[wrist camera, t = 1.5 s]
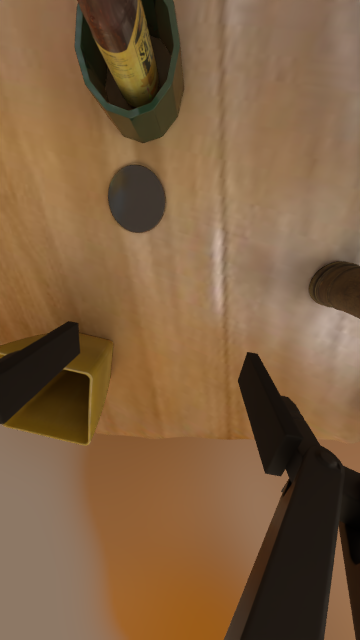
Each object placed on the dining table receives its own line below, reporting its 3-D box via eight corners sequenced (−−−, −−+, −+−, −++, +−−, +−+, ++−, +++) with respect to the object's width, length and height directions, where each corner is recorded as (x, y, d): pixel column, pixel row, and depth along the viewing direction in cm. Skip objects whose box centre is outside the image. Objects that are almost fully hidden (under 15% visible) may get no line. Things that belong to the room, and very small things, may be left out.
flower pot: (53, 314, 47) (-18, 349, 32) (126, 331, 47) (91, 374, 32) (56, 374, 54) (0, 426, 39) (120, 389, 54) (89, 447, 39)
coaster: (135, 150, 33) (134, 148, 32) (177, 202, 35) (177, 202, 35) (98, 200, 37) (96, 199, 36) (138, 244, 39) (138, 244, 38)
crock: (139, -4, 26) (120, -84, 20) (200, 88, 29) (200, 44, 23) (85, 89, 31) (55, 47, 24) (143, 161, 34) (130, 141, 27)
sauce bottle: (164, 109, 31) (114, -90, 12) (128, 120, 32) (32, -50, 13) (156, 52, 28) (78, -297, 10) (117, 66, 29) (-18, -232, 11)
